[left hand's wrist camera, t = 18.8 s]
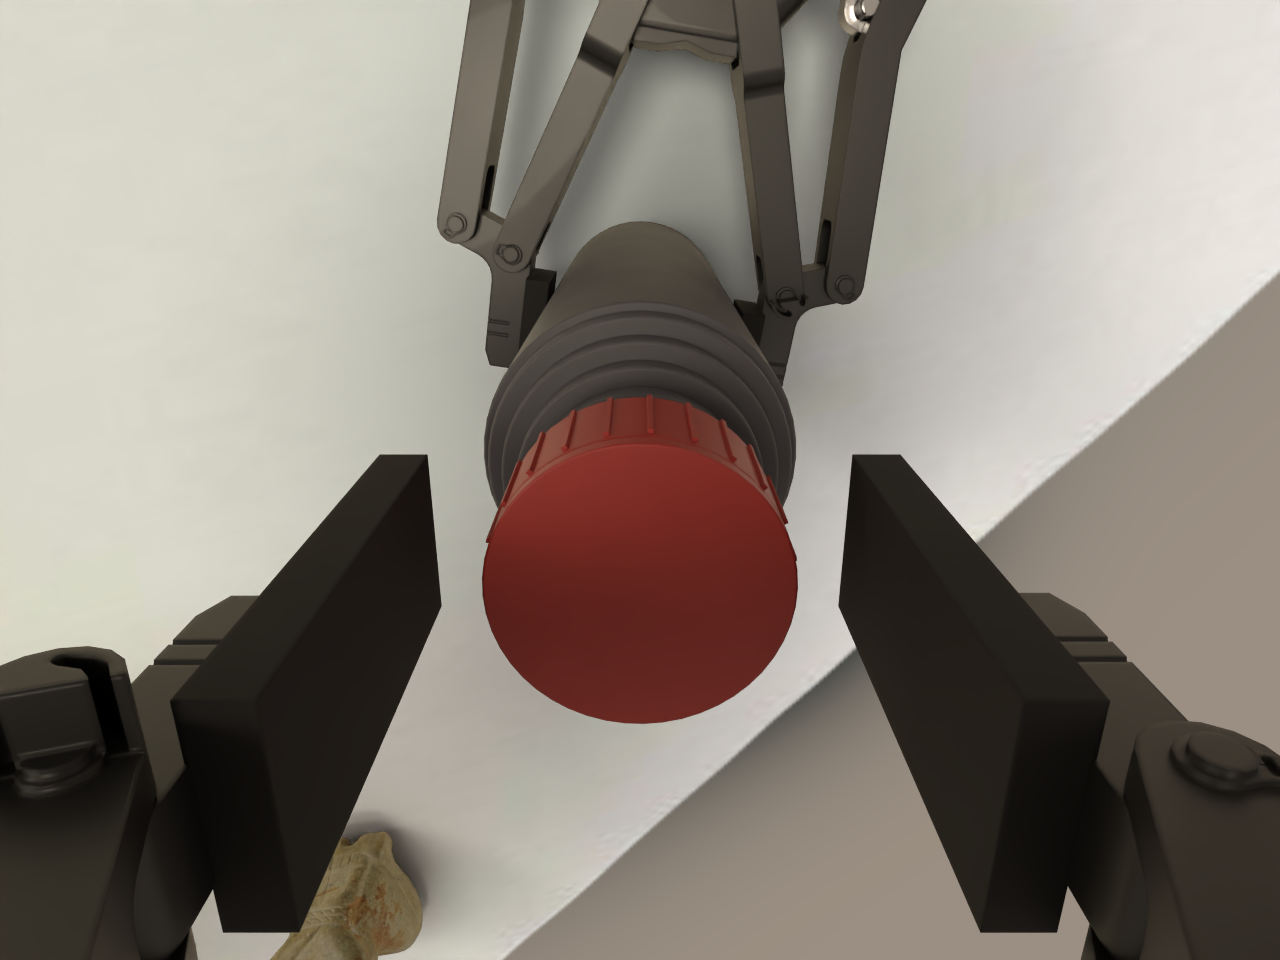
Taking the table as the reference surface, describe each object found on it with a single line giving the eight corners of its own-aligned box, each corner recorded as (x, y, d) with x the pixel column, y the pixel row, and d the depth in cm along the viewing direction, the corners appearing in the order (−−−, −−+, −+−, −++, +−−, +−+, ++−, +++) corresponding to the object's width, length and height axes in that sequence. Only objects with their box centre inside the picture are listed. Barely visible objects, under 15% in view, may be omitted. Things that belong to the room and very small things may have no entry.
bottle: (640, 186, 34) (641, 263, 11) (748, 302, 35) (944, 576, 13) (531, 300, 35) (335, 574, 13) (639, 406, 37) (638, 817, 14)
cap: (597, 685, 15) (590, 774, 13) (447, 482, 14) (411, 544, 12) (824, 566, 15) (856, 640, 12) (688, 338, 13) (698, 376, 11)
